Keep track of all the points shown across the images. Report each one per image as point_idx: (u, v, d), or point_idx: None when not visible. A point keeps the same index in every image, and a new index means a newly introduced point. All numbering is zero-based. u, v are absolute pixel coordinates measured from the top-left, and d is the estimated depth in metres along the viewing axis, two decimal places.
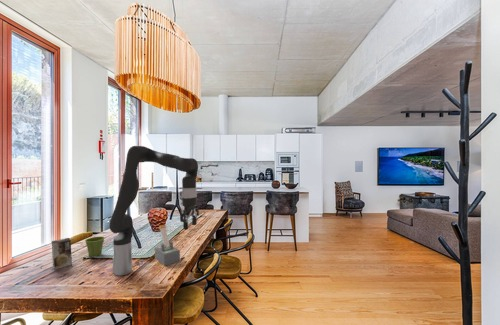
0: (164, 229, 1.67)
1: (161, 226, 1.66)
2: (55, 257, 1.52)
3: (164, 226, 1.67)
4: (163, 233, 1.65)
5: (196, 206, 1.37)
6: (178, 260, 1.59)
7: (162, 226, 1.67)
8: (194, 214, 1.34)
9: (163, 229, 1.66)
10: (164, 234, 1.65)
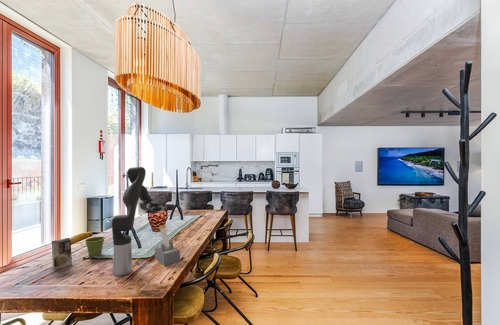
0: (164, 229, 1.67)
1: (161, 226, 1.66)
2: (55, 257, 1.52)
3: (164, 226, 1.67)
4: (163, 233, 1.65)
5: None
6: (178, 260, 1.59)
7: (162, 226, 1.67)
8: (153, 211, 1.74)
9: (163, 229, 1.66)
10: (164, 234, 1.65)
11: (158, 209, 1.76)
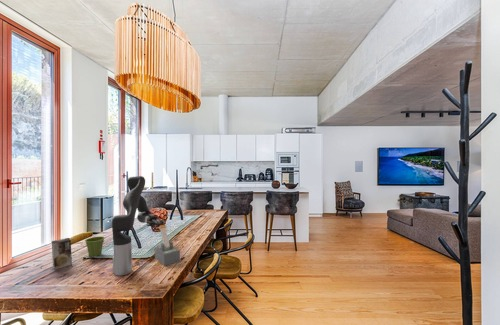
0: (164, 229, 1.67)
1: (161, 226, 1.66)
2: (55, 257, 1.52)
3: (164, 226, 1.67)
4: (163, 233, 1.65)
5: None
6: (178, 260, 1.59)
7: (162, 226, 1.67)
8: None
9: (163, 229, 1.66)
10: (164, 234, 1.65)
11: None
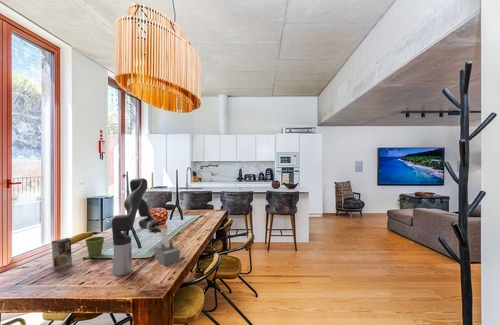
0: (164, 229, 1.67)
1: (161, 226, 1.66)
2: (55, 257, 1.52)
3: (164, 226, 1.67)
4: (163, 233, 1.65)
5: None
6: (178, 260, 1.59)
7: (162, 226, 1.67)
8: None
9: (163, 229, 1.66)
10: (164, 234, 1.65)
11: None
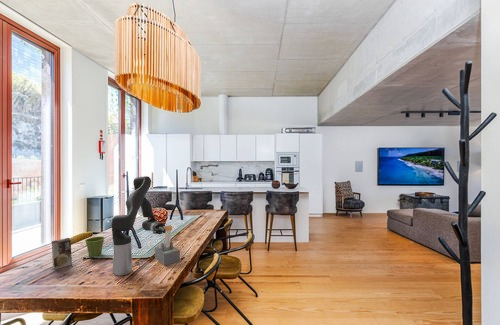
0: (169, 231, 1.60)
1: (167, 228, 1.58)
2: (55, 257, 1.52)
3: (170, 228, 1.59)
4: (167, 235, 1.60)
5: None
6: (178, 260, 1.59)
7: (168, 228, 1.58)
8: None
9: (168, 231, 1.59)
10: (168, 235, 1.60)
11: None
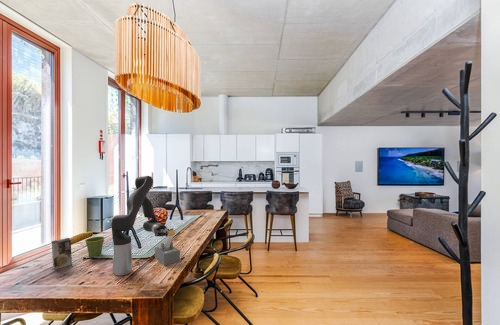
0: (172, 235, 1.57)
1: (170, 234, 1.55)
2: (55, 257, 1.52)
3: (173, 234, 1.56)
4: (169, 238, 1.58)
5: None
6: (178, 260, 1.59)
7: (171, 234, 1.55)
8: None
9: (171, 236, 1.57)
10: (169, 239, 1.58)
11: None
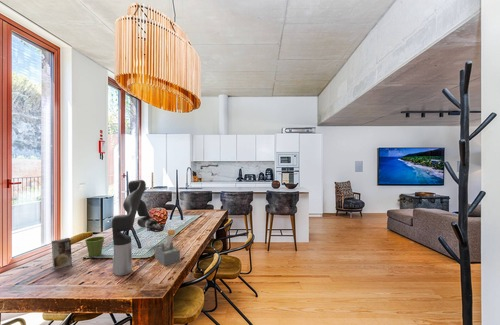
0: (172, 235, 1.57)
1: (170, 234, 1.55)
2: (55, 257, 1.52)
3: (173, 234, 1.56)
4: (169, 238, 1.58)
5: None
6: (178, 260, 1.59)
7: (171, 234, 1.55)
8: None
9: (171, 235, 1.57)
10: (169, 239, 1.58)
11: None
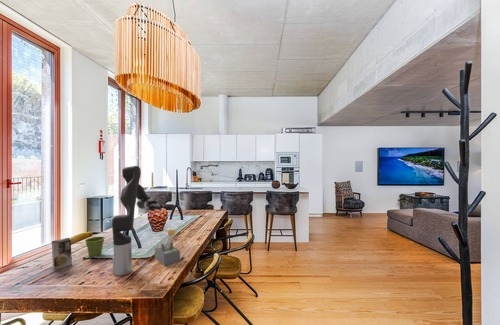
0: (172, 235, 1.57)
1: (170, 234, 1.55)
2: (55, 257, 1.52)
3: (173, 234, 1.56)
4: (169, 238, 1.58)
5: None
6: (178, 260, 1.59)
7: (171, 234, 1.55)
8: (155, 208, 1.76)
9: (171, 235, 1.57)
10: (169, 239, 1.58)
11: None
